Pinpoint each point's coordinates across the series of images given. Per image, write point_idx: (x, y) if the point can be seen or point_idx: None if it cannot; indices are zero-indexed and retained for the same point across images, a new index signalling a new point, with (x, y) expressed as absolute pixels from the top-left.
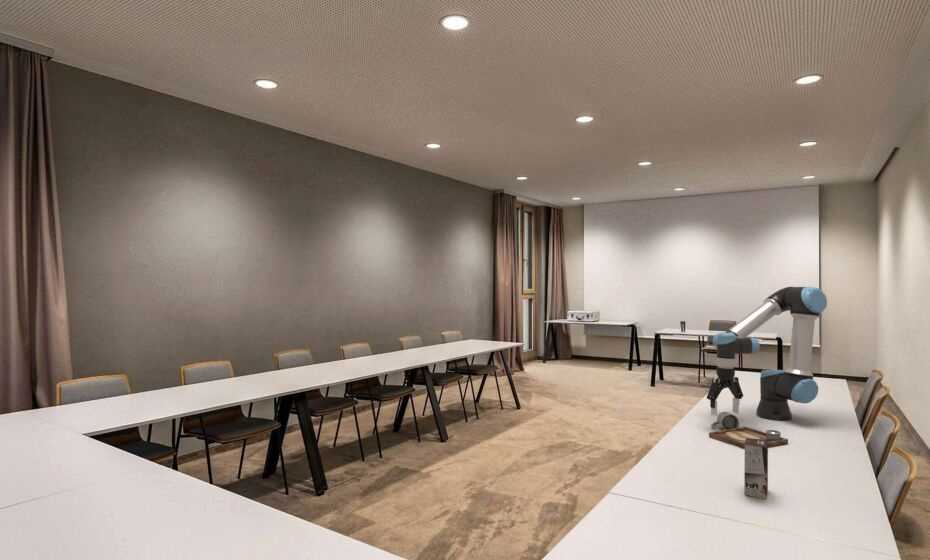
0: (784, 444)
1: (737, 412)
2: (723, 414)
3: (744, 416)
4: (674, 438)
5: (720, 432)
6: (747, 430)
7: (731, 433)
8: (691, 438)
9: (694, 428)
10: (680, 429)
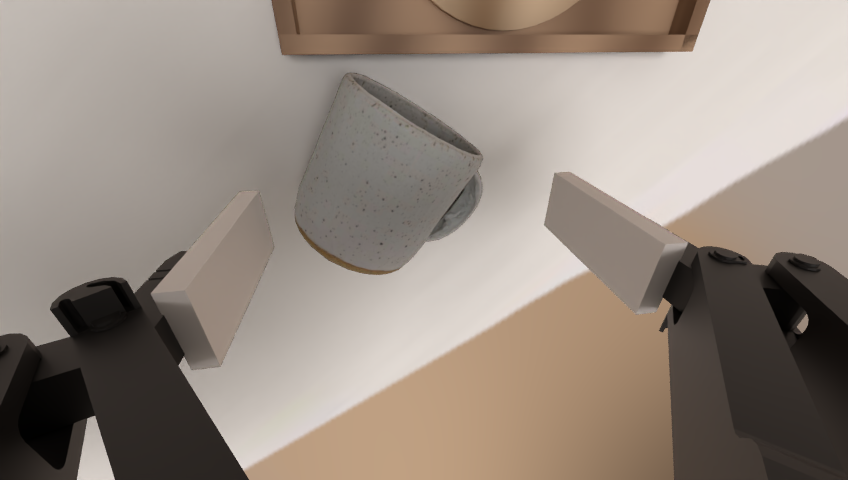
0: None
1: (256, 196)
2: (439, 202)
3: None
4: (816, 119)
5: (595, 35)
6: (295, 10)
7: None
8: (762, 78)
9: None
10: None
